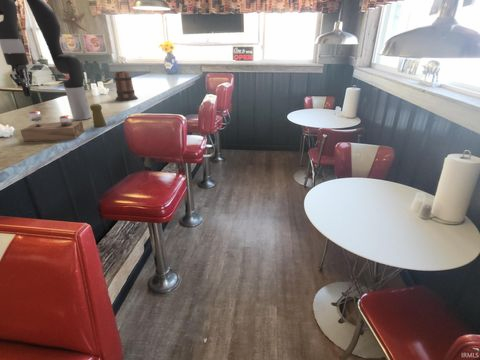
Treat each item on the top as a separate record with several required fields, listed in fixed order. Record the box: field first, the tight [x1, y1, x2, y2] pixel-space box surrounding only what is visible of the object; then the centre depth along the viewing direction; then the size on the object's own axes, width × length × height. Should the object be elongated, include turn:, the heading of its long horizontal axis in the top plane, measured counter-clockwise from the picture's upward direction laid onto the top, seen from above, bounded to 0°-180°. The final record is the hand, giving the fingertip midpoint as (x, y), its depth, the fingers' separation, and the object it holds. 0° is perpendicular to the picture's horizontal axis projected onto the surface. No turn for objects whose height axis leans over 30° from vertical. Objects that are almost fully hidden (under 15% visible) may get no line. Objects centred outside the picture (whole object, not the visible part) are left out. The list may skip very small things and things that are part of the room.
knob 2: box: [58, 115, 73, 126], centre depth 128 cm, size 4×4×7 cm
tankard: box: [114, 71, 139, 102], centre depth 217 cm, size 24×17×20 cm
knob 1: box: [27, 110, 43, 127], centre depth 126 cm, size 4×4×7 cm
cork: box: [89, 103, 107, 128], centre depth 144 cm, size 6×6×11 cm
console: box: [20, 120, 85, 143], centre depth 129 cm, size 12×21×5 cm, turn 99°
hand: (28, 96), depth 121 cm, fingers closed
